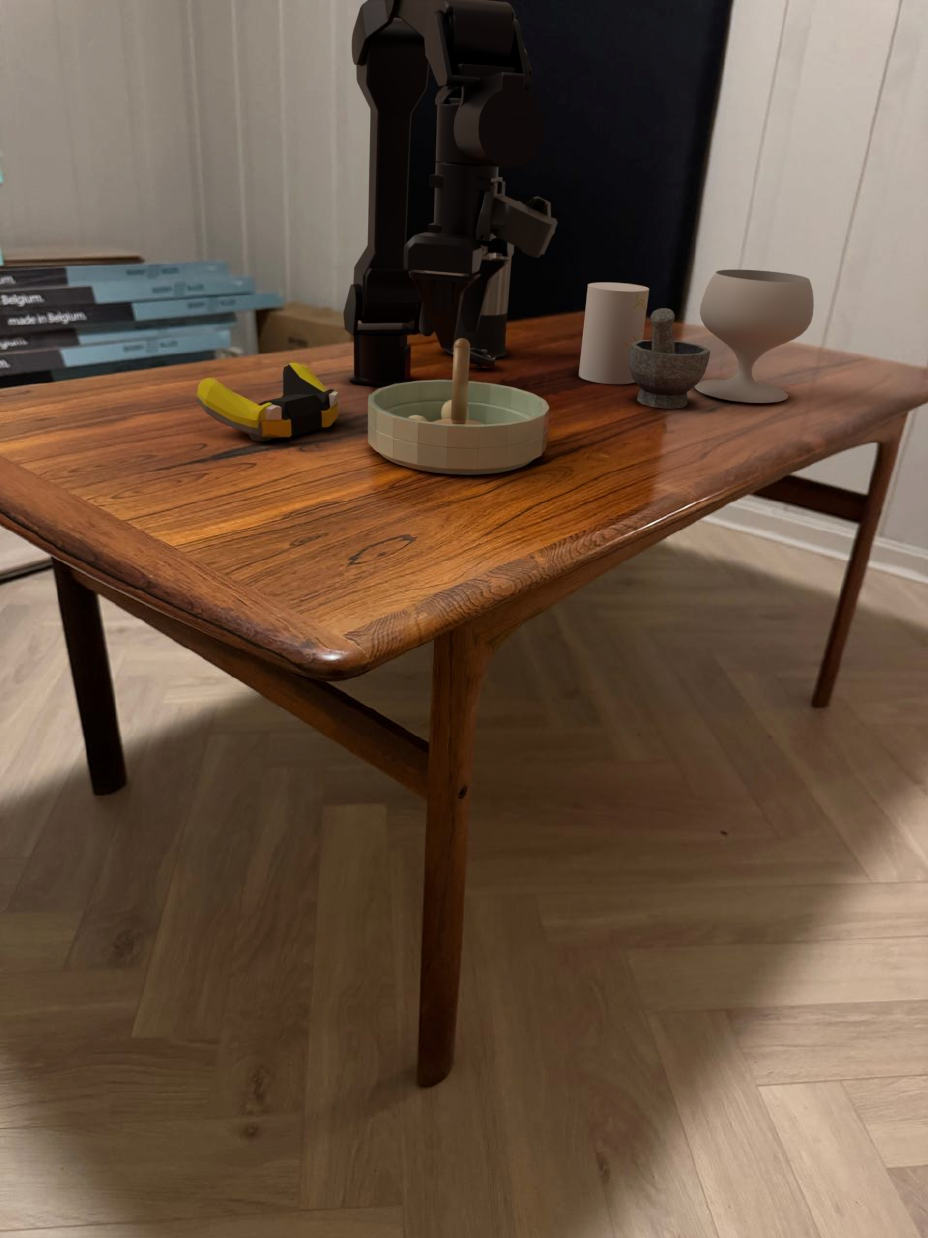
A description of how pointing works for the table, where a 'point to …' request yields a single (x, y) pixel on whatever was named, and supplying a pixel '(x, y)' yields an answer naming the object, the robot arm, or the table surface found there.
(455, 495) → the table surface
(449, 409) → the dumpling
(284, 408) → the gaming controller
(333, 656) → the table surface
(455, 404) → the stirrer
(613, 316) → the tall cream tube
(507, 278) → the milk frother
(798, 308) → the chalice
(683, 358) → the mortar and pestle
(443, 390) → the bowl
